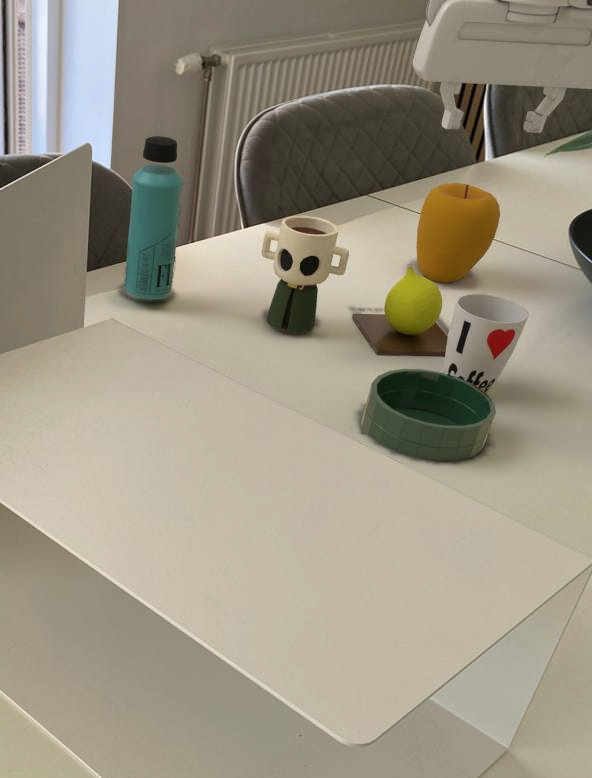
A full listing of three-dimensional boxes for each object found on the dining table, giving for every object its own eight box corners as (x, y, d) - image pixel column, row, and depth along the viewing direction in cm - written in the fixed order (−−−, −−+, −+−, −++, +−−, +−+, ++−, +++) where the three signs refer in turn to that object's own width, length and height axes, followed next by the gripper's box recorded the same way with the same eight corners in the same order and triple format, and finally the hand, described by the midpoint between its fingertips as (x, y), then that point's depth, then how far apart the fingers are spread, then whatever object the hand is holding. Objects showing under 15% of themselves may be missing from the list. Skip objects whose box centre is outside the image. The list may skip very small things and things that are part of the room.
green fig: (367, 324, 130) (386, 248, 124) (408, 317, 133) (429, 242, 127) (402, 347, 126) (424, 269, 119) (444, 339, 129) (468, 262, 122)
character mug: (241, 326, 128) (258, 223, 120) (258, 307, 133) (276, 207, 125) (322, 347, 125) (346, 243, 117) (336, 327, 130) (360, 226, 122)
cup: (427, 393, 118) (452, 312, 111) (436, 366, 124) (460, 288, 117) (496, 410, 116) (526, 328, 110) (502, 382, 122) (531, 303, 115)
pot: (454, 409, 116) (468, 369, 112) (499, 470, 106) (516, 429, 102) (346, 408, 114) (356, 367, 111) (381, 469, 104) (394, 427, 101)
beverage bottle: (154, 315, 129) (172, 150, 116) (112, 301, 131) (124, 138, 118) (179, 300, 133) (199, 139, 120) (138, 287, 136) (152, 127, 122)
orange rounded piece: (494, 286, 146) (525, 195, 137) (437, 295, 142) (465, 201, 133) (445, 259, 153) (471, 170, 144) (389, 266, 149) (413, 175, 140)
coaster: (429, 319, 135) (430, 315, 134) (459, 356, 127) (460, 352, 126) (351, 317, 133) (352, 313, 133) (376, 354, 125) (377, 350, 125)
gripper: (446, -22, 96) (409, 134, 105) (643, -11, 98) (590, 141, 107) (424, -32, 100) (390, 118, 110) (612, -21, 103) (564, 125, 112)
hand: (491, 129), depth 108 cm, fingers open, 8 cm apart
